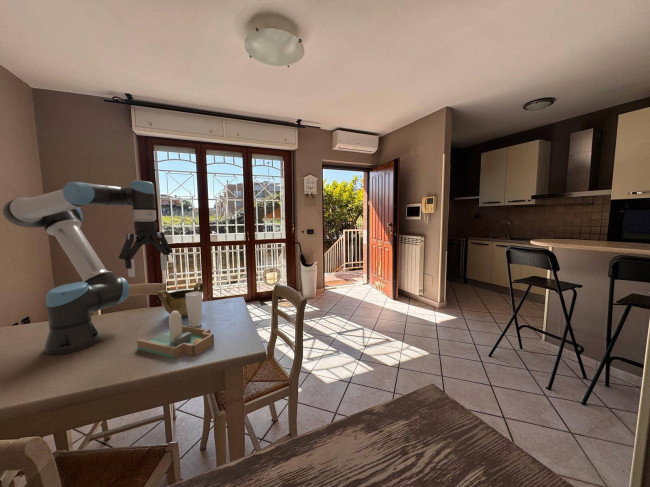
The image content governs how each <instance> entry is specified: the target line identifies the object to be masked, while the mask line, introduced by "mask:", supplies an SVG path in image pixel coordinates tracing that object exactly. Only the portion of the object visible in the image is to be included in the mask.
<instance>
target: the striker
mask: <svg viewBox="0 0 650 487" xmlns="http://www.w3.org/2000/svg"><path fill="white" fill-rule="evenodd" d="M182 322H183V321H182V317H181V314H179V312H178V311H173V312H171V314H169V316H168V329H169V331H168V332H170V341H171V342H174V345H180V344H182V343H184V342H186V341H188V340H190V339H192V338H191V333H190V332H186V333H184V334H182V325H183V323H182Z"/></svg>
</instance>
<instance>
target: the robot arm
mask: <svg viewBox="0 0 650 487" xmlns="http://www.w3.org/2000/svg"><path fill="white" fill-rule="evenodd" d="M89 206H111V207H112V206H113V207H132V213H133V214H132V217H133V218H132V219H133V220H134V222H133V227H134V228H133V229H134V231H135V233H126V238H125V242H124V244H123V247H122V248H121V251H120V253H119V256H118V259H119V260H123V261H124V262H125V263H124V265H125V269H126V270H127V274H128V275H127V276H128V277H129V278H135V277H136V272H135V271H136V270H135V259H133V258H134V257H135V255H136V254H137V253H138V251H139V250H140V248H141V247H142V246H143V245H153V246H154V247H155V248H156V249H157V250H158V251H159V253H161V254H160V267H161V268H160V270H161V271H168V262H169V256H170V254H172V253H173V250H172V248H171V245H170V244H169V241H167V238H166V237H165V232H164V231H158V232H157V230H158V222H156V220H157V209H156V208H157V207H156V192H155V185H154V183H153V182H151V181H147V180H146V181H145V180H132V181H131V182H130V186H114V185H106V184H97V183H90V182H89V183H88V182H84V181H70V182H67V183H66V184H65V185H64V186H63V189H58V190H54V191H51V192H48V193H44V194H40V195H36V196H34V197H33V196H32V197H24V196H23V197H18V198H13V199H11V200H9V201H7V202H6V203H5V204H3V208H2V215H3V216H4V218H5V219H6V221H8V222H10V223H11V224H13V225H16V226H17V227H22V228H28V229H29V228H34V229H35V228H36V229H37V228H39V229H40V228H44V230H45V232H46V233H47V234H48V235H50V236H54V237H55V239H56V240H57V241H58V243H59V245H60V246H61V248H62V249H63V251H64V253H65V254H66V256H67V257H68V259H69V261H70V263H71V264H72V266H73V267H74V269H75V270H76V271H77V273H78V275H79V276H80V278H81V279H82V281H77V282H72V283H65V284H62V285H59V286H56V287H54V288H51V289H50V290H48V292H47V293H46V295H45V300H46V301H45V306H46V311H47V319H48V320H47V321H48V327H49V331H48V334H47V337H46V339H45V343H44V346H43V348H44V353H45V354H46V355H51V356H53V355H54V356H55V355H57V356H58V355H64V354H70V353H73V352H77V351H80V350H83V349H86V348H88V347H91V346H93V345H95V343H97V342H98V341H99V340H100V334H99V332H98V329H97V328H96V326H95V325H94V322H93V320H92V313H94V312H98V311H101V310H104V309H107V308H109V307H114V306H116V305H118V304H121V303H124V301H126V299H127V298H128V297H129V294H130V293H129V292H130V285H129V283H128V281H127V279H126V278H124V277H122V276H116V275H115V274H114V272H113V271H110V270H108V269H107V268H106V267H105V265H104V264H103V262H102V261H101V259H100V258H99V255H98V254H97V253H96V251H95V249H94V248H93V247H92V245H91V243H90V242H89V241H88V239H87V237H86V236H85V234H84V233H83V231H82V229H81V226H82V224H83V220H84V217H83V211H82V210H81V208H84V207H89ZM135 239H136V240H135Z"/></svg>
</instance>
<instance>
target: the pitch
mask: <svg viewBox="0 0 650 487" xmlns="http://www.w3.org/2000/svg"><path fill="white" fill-rule="evenodd" d="M186 332H190V333H191V338H192V339H190V340H188V341H186V342H184V343H182V344H180V345H174V342H171V341H170V332H169V331H168V332H166V333H163V334H160V335H159V336H156V337H154V338H152V339H150V340H146V339H141V338H140V339H137V340H136V344H137V346H136V347H137V350H139V351H141V352H142V351H143V352H147V353H151V354H154V355H155V354H156V355H159V356H163V357H167V358H172V359H175V360H177V359H179V358H181V357H182V356H183V355H185V356H189V357H196V356H197V355H199V354H200V353H202V352H204V351H205V350H207V349H209V348H210V347H212V346H214V345H215V339H214V338H215V337H214V335H215V334H214V333H211V329H210V328H208V329H206V328H200V327H190V326H189V325H185V324H184V325H183V324H182V334H184V333H186ZM197 339H201V341H199V342H197V343H195V344H194V345H193V342H194V341H195V340H197Z"/></svg>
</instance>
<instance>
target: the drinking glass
mask: <svg viewBox="0 0 650 487" xmlns="http://www.w3.org/2000/svg"><path fill="white" fill-rule="evenodd" d="M185 300H186V308H187V315H188V316H187V320H188V326H190V327H195V328H199V326H201V325H202V322H203V319H202V317H203V314H202V313H203V293H202V292H189V293H187V294H186V295H185Z"/></svg>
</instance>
